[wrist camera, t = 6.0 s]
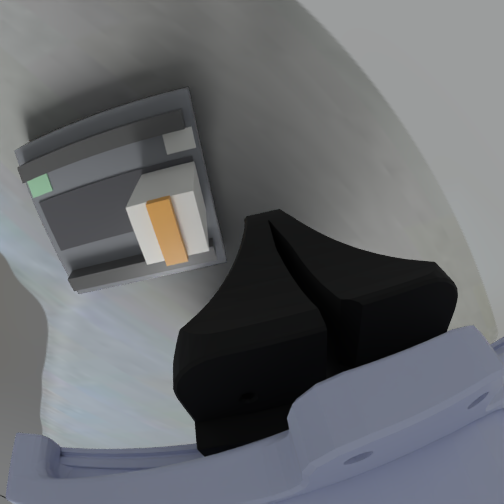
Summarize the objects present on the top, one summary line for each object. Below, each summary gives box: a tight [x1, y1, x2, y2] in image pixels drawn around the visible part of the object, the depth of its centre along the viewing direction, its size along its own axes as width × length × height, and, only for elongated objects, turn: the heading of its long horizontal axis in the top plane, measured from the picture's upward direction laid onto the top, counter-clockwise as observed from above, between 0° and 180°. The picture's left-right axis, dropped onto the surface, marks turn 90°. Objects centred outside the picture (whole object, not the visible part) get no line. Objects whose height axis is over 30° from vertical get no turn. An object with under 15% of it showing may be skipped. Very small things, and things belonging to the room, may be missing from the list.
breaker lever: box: [126, 161, 209, 266], centre depth 15 cm, size 3×3×5 cm
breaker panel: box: [15, 87, 227, 294], centre depth 17 cm, size 11×11×3 cm
